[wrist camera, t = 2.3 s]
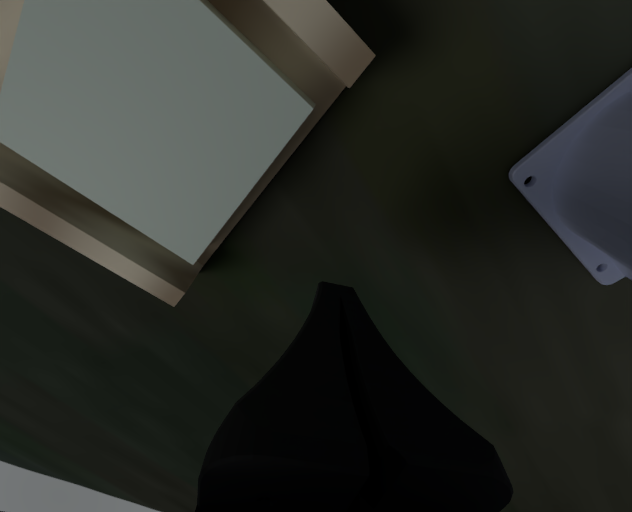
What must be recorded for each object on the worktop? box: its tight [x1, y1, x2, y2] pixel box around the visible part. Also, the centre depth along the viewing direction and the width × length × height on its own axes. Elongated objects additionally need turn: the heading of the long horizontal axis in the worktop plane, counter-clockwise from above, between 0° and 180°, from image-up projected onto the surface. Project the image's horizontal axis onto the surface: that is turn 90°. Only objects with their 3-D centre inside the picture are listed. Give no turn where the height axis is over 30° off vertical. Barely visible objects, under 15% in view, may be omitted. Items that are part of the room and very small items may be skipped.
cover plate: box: [0, 0, 316, 265], centre depth 12 cm, size 9×9×2 cm
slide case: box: [0, 0, 376, 307], centre depth 12 cm, size 13×14×3 cm
